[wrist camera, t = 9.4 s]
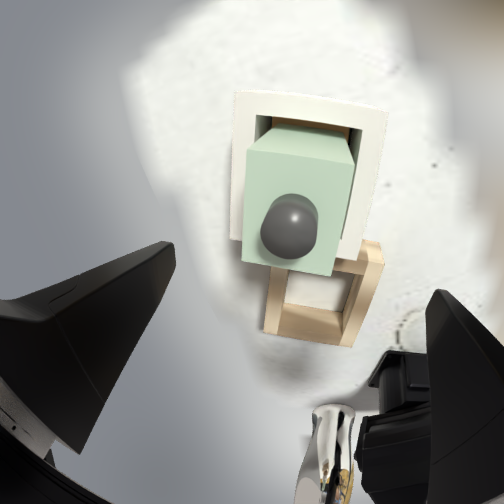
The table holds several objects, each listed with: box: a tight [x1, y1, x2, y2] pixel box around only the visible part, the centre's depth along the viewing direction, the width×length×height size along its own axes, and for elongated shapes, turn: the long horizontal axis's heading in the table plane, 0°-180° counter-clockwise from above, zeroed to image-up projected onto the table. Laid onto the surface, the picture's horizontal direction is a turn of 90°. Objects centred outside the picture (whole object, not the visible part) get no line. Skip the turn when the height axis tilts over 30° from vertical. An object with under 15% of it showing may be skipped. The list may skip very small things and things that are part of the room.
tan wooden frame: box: [263, 239, 385, 348], centre depth 23 cm, size 9×8×3 cm
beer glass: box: [294, 404, 355, 504], centre depth 30 cm, size 7×7×15 cm
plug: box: [241, 123, 355, 277], centre depth 14 cm, size 5×4×10 cm
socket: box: [230, 90, 388, 261], centre depth 18 cm, size 9×8×5 cm
